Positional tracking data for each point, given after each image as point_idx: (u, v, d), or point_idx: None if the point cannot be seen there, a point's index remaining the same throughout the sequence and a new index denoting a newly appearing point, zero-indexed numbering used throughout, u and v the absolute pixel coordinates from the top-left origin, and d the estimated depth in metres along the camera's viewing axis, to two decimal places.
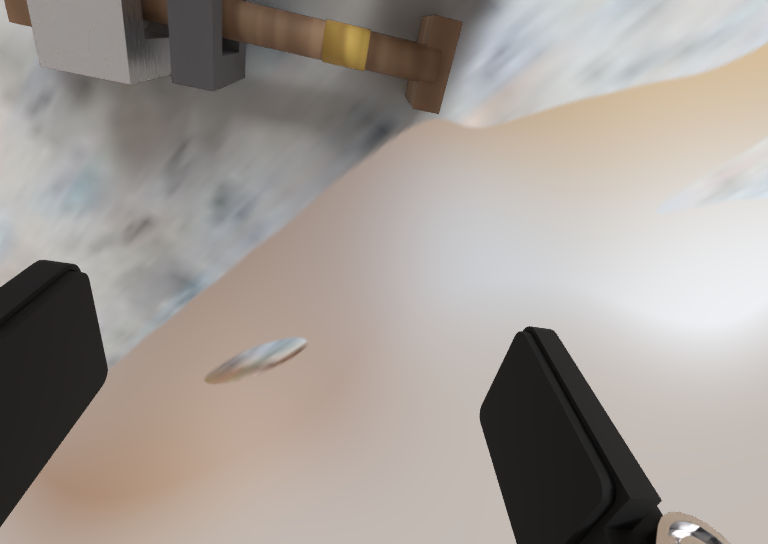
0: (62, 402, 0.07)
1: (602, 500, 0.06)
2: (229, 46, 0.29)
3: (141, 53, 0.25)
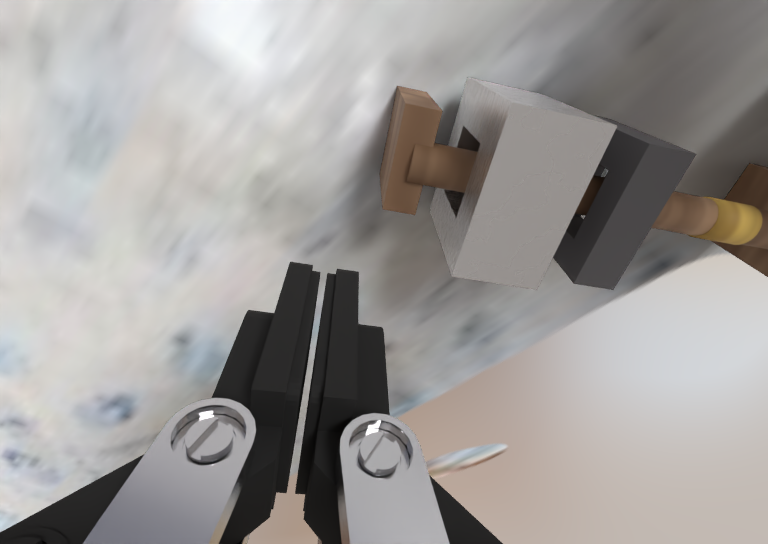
0: (304, 378, 0.09)
1: (313, 403, 0.06)
2: None
3: None
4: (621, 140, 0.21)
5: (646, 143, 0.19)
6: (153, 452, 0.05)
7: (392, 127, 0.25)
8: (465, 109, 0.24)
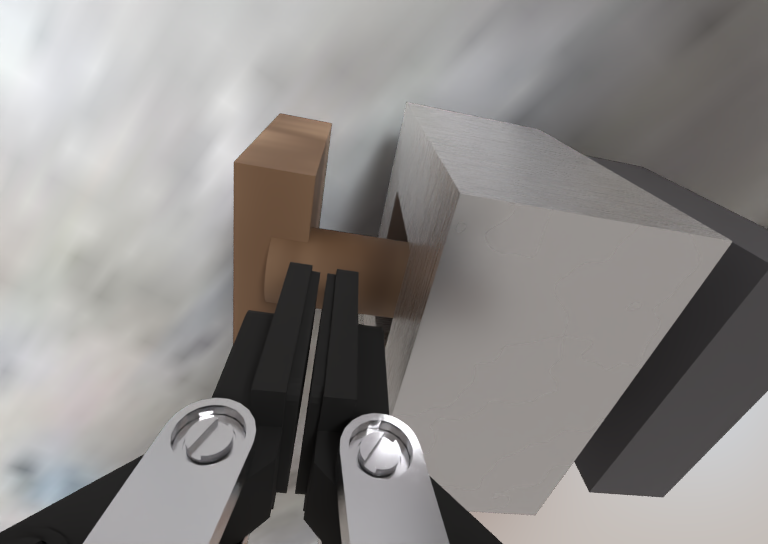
0: (304, 378, 0.09)
1: (312, 403, 0.06)
2: None
3: None
4: None
5: (761, 261, 0.08)
6: (153, 452, 0.05)
7: None
8: (400, 161, 0.13)
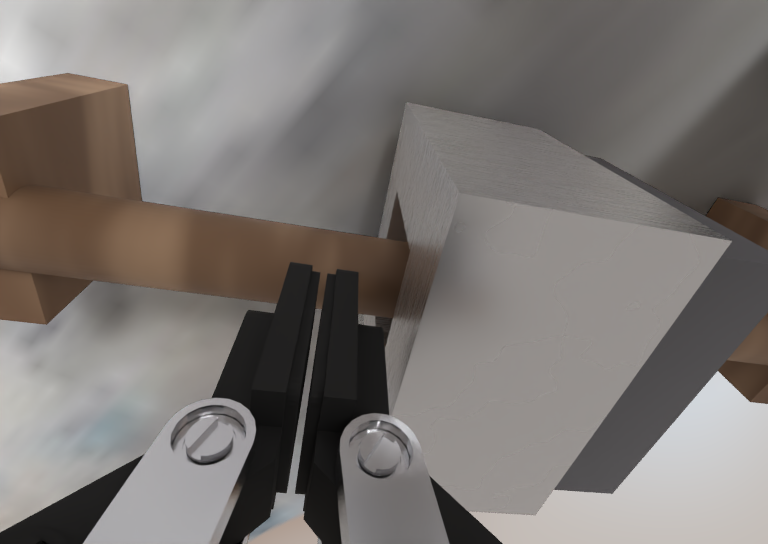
0: (304, 378, 0.09)
1: (312, 403, 0.06)
2: None
3: None
4: None
5: None
6: (153, 452, 0.05)
7: None
8: (400, 162, 0.13)
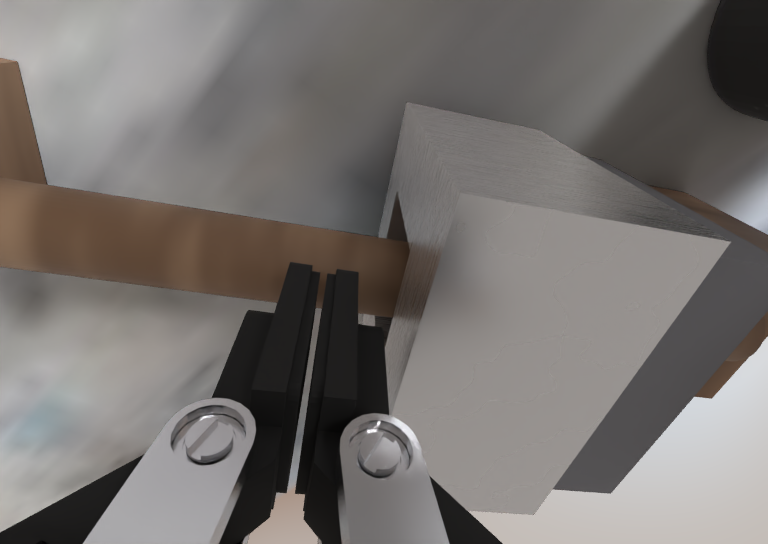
0: (304, 378, 0.09)
1: (313, 403, 0.06)
2: None
3: None
4: None
5: None
6: (153, 452, 0.05)
7: None
8: (400, 162, 0.13)
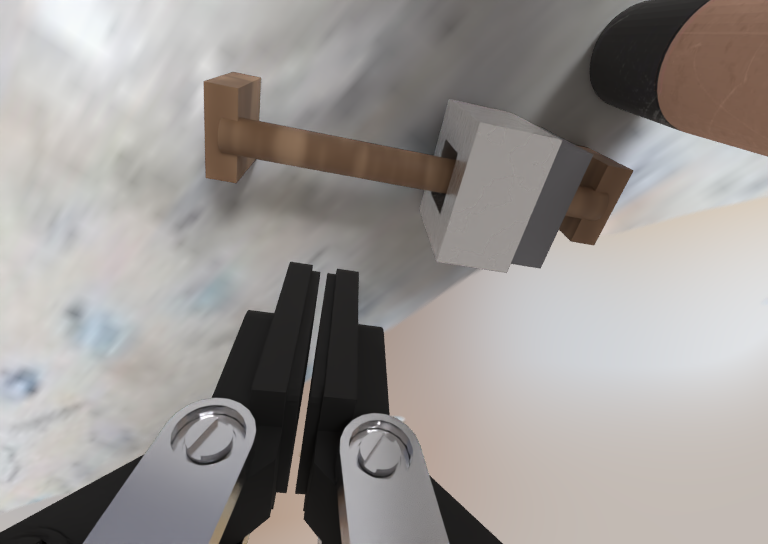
0: (304, 378, 0.09)
1: (313, 403, 0.06)
2: None
3: None
4: None
5: None
6: (153, 452, 0.05)
7: None
8: (447, 125, 0.29)
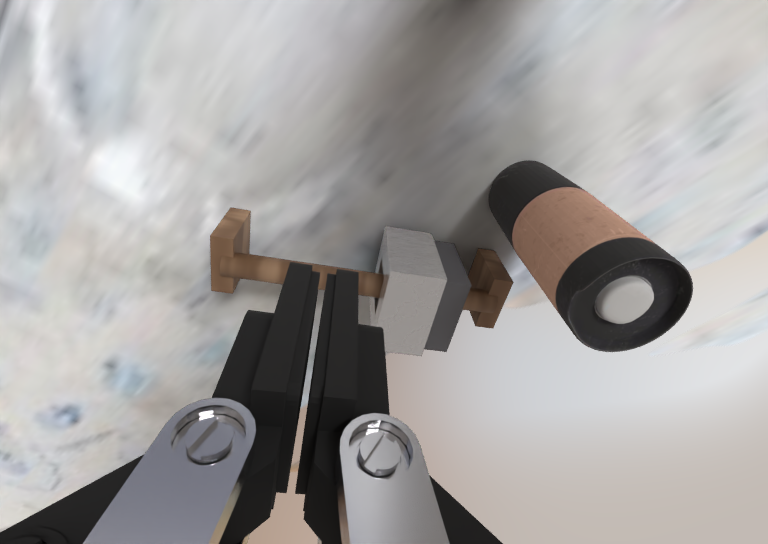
0: (304, 378, 0.09)
1: (313, 403, 0.06)
2: None
3: None
4: None
5: None
6: (153, 452, 0.05)
7: None
8: (383, 247, 0.41)
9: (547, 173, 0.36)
